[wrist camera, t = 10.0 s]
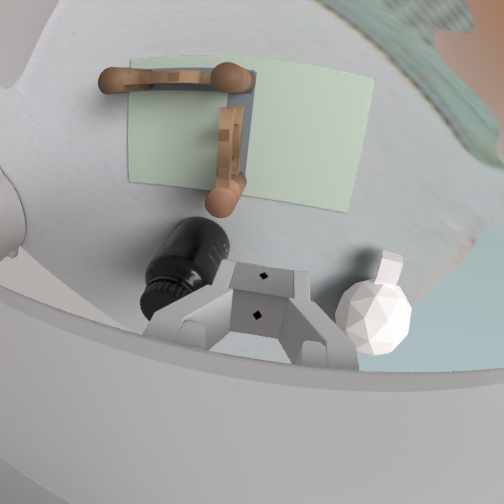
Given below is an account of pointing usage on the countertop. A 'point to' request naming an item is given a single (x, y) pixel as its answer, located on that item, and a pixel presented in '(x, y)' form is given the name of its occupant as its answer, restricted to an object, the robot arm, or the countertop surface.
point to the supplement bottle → (184, 263)
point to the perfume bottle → (376, 310)
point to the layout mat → (254, 129)
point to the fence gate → (227, 164)
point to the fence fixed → (176, 79)
